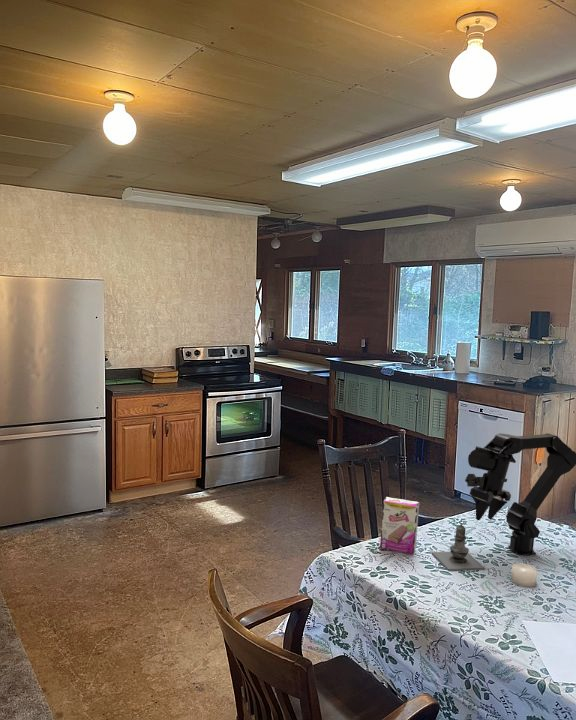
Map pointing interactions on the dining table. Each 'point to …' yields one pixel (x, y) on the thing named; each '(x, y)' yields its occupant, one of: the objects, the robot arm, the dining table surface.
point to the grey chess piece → (459, 546)
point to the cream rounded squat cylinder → (524, 574)
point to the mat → (453, 566)
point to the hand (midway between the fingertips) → (483, 519)
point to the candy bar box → (399, 525)
